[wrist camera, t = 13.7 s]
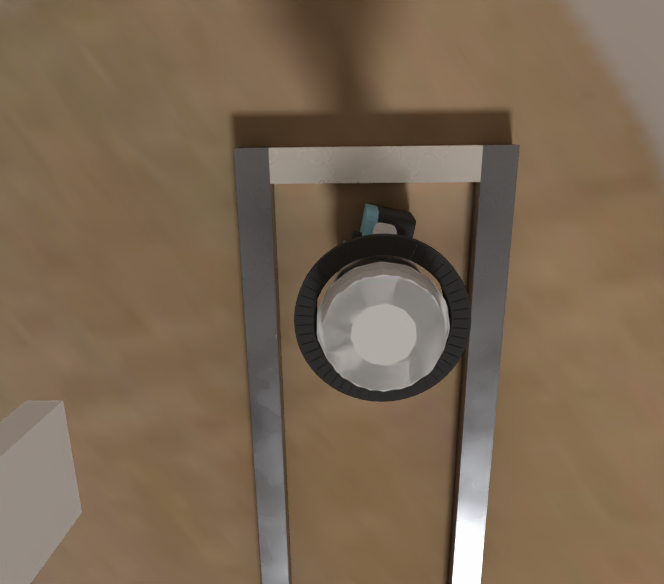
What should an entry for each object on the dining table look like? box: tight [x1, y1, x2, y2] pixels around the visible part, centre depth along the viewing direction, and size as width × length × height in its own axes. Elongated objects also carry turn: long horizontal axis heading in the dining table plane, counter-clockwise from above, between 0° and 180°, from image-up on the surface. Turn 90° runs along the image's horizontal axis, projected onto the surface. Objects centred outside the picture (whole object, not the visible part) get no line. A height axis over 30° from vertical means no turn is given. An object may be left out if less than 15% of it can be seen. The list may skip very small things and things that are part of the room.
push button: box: [294, 203, 471, 402], centre depth 20 cm, size 7×5×10 cm
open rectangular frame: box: [234, 144, 520, 584], centre depth 26 cm, size 12×28×1 cm, turn 1°
